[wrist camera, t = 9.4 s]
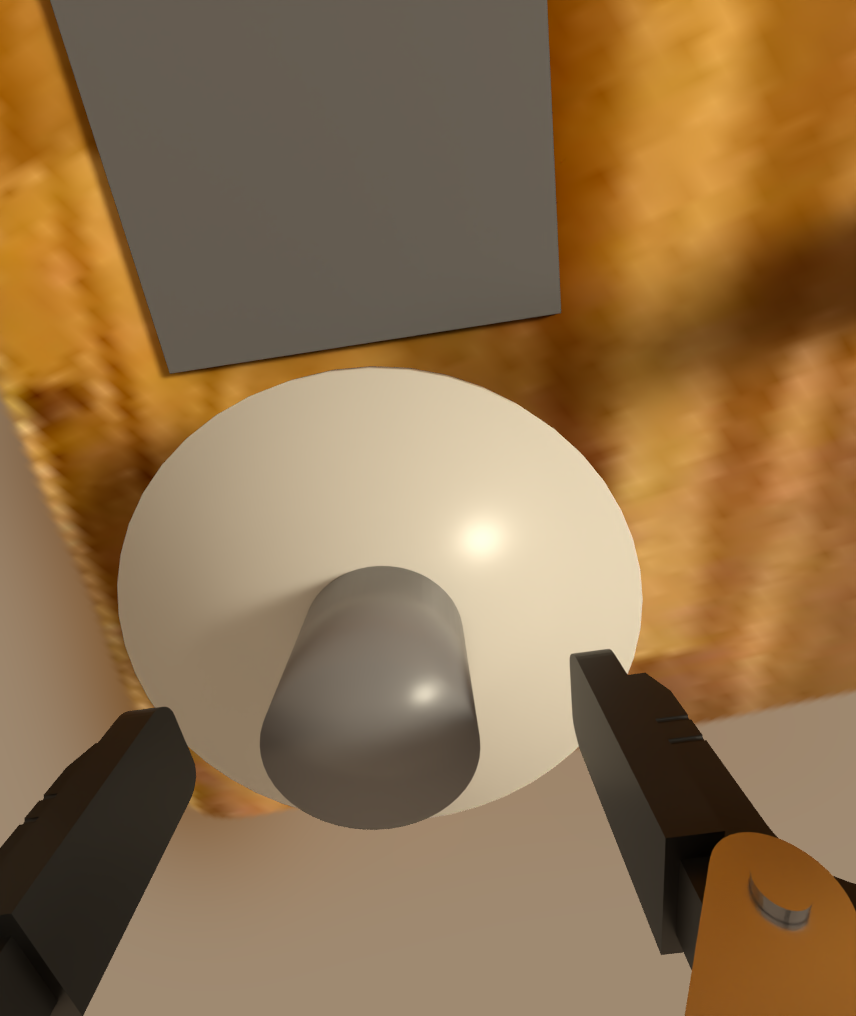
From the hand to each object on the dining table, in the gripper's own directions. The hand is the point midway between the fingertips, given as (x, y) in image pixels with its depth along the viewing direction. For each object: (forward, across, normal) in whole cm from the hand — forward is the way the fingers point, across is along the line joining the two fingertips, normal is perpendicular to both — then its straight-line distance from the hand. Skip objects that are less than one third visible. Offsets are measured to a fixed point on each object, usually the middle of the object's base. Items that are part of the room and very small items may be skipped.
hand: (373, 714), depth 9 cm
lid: (+4, 0, 0) cm, 4 cm away
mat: (+11, 0, -14) cm, 18 cm away
